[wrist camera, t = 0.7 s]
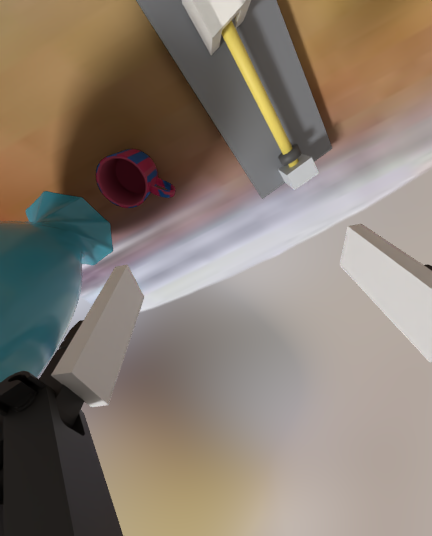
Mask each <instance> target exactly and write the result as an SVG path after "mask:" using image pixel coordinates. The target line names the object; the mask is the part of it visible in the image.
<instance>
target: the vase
mask: <svg viewBox="0 0 432 536" xmlns="http://www.w3.org/2000/svg"><path fill="white" fill-rule="evenodd" d="M26 215H27V217H28V220H29V222H22V221H0V382H2V381H3V380H5V379H6V378H7V377H9V376H11V375H13V374H15V373H17V372H21V371H27V372H30V373H31V374H32V375H34V376H35V377H38V376H39V374H40V373H41V372H42V370H43V369H44V368H45V366H46V365H47V363H48V362H49V361H50V359H51V357H52V356H53V355H54V353H55V351H56V350H57V348H58V346H59V344H60V343H61V341H62V339H63V337H64V335H65V333H66V331H67V329H68V327H69V324H70V322H71V320H72V317H73V315H74V312H75V309H76V306H77V303H78V300H79V296H80V291H81V285H82V264H89V265H95V264H96V263H97V262H99V261H100V260H101V259H103V258H104V257H105V256H107V255H108V254H109V253H111V252H112V251H113V247H112V238H111V226H110V223H109V222H108V221H107V220H105V219H104V218H103V217H102V216H101V215H100V214H99V213H98V212H97V211H96V210H95V209H94V208H93V207H92V206H91V205H89V204H88V203H87V202H86V201H85V200H84V199H83V198H82V197H76V196H69V195H63V194H57V193H51V192H47V191H45V192H43V193H42V194H41V196H40V197H39V198H38V199H37V200H36V201H35V202H34V203H33V204H32V205H31V206H30V207H29V208H28V209H26Z"/></svg>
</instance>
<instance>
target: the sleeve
mask: <svg viewBox="0 0 432 536" xmlns="http://www.w3.org/2000/svg"><path fill="white" fill-rule="evenodd" d="M250 2H251V0H182V4H183V6H184V7H185V9H186V11H187V13H188V15H189V17H190V18H191V20H192V22H193V24H194V26H195V27H196V29H197V31H198V33H199V35H200V36H201V38H202V40H203V42H204V44H205V45H206V47H207V49H208V51H209V53H210V54H211V55H212V54H213V53H214V52H215V51H216V50H217V49H218V48H219V46H220V39H221V33H222V30H223V29H224V28H225V27H226V26H227V25H228V24H229V22H230V21H231V20H232V22H233V24H234V26H235V28H237V27H238V26H239V25H240V24H241V23H242V22H243V21H244V18H245V16H246V13H247V10H248V7H249V5H250Z"/></svg>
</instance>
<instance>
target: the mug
mask: <svg viewBox="0 0 432 536" xmlns="http://www.w3.org/2000/svg"><path fill="white" fill-rule="evenodd" d="M96 181H97V184H98V187H99V189H100V191H101V192H102V194H103V195H104V196H105V197H106V198H107V199H108V200H109V201H110V202H112V203H113V204H115V205H117V206H120V207H124V208H133V207H136V206H138V205H140V204H141V203H143V202H144V200H145V199H146V198H147V197H148V195H149V194H150V193H152V194H155V195H157V196H160V197H165V198H170V197H173V196H174V195H175V190H176V189H175V187H174V186H173V185H172V184H170V183H168V182H166V181H164V180H162V179H160V178H158V172H157V168H156V166H155V164H154V162H153V160H152V159H151V158H150V157H149V156H148V155H147V154H145V153H144V152H142V151H140V150H136V149H127V150H124V151H121V152H118V153H115V154H112V155H110V156H107V157H105V158H104V159H102V160H101V161H100V163H99V164H98V166H97V169H96ZM156 185H157V186H161V187H163V188H166V189H168V190H163V189H160V188H157V187H155V186H156Z"/></svg>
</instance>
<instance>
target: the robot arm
mask: <svg viewBox="0 0 432 536" xmlns="http://www.w3.org/2000/svg"><path fill="white" fill-rule="evenodd" d="M340 266H341V267H342V268H343V269H344V271H345V272H346V273H347V274H348V275H349V276H350V277H351V278H352V279H353V280H354V281H355V282H356V283H357V285H358V286H359V287H360V288H361V289H362V290H363V291H364V292H365V293H366V294H367V295H368V296H369V297H370V298H371V300H372V301H373V302H374V303H375V304H376V305H377V306H378V307H379V308H380V309H381V311H383V313H384V314H385V315H386V316H387V317H388V318H389V319H390V320H391V321H392V322H393V323H394V325H395V326H396V327H397V328H398V329H399V330H400V331H401V332H402V333H403V334H404V335H405V336H406V337H407V339H409V341H410V342H411V343H412V344H413V345H414V346H415V347H416V348H417V349H418V351H419V352H420V353H421V354H422V355H423V356H424V357H425V358H426V359H427V360H428V361H429V362H432V266H430V265H423V264H421V263H420V262H418V261H416V260H415V259H414V258H412V257H410V256H409V255H407V254H406V253H404V252H403V251H401V250H400V249H399V248H397V247H396V246H394V245H393V244H391V243H390V242H388V241H386V240H385V239H383V238H382V237H381V236H379V235H377V234H376V233H375V232H373V231H372V230H370V229H368V228H367V227H365V226H364V225H362V224H358V225H352V226H348V228H347V233H346V237H345V242H344V246H343V251H342V256H341V260H340ZM143 299H144V296H143V294H142V292H141V290H140V288H139V286H138V284H137V282H136V280H135V278H134V276H133V274H132V272H131V271H130V269H129V267H128V265H123V266H118V267H115V269H114V270H113V272H112V274H111V275H110V277H109V279H108V280H107V282H106V284H105V285H104V287H103V289H102V290H101V292H100V294H99V295H98V297H97V299H96V300H95V302H94V304H93V306H92V307H91V309H90V311H89V312H88V314H87V316H86V317H85V319H84V320H83V321H79V322H78V323H77V324H76V325H75V326H74V327H73V328H72V329H71V330H70V331H69V333H68V334H67V336H66V337H65V339H64V341H63V342H62V344H61V345H60V347H59V350H57V352H56V353H55V355H54V356H53V358H52V359H51V361H50V363H49V364H48V366H47V367H46V369H45V371H44V372H43V374H42V375H41V377H40V378H39V379H38V378H37V377H35V376H34V375H32V374H31V373H30V372H27V371H21V372H17V373H15V374H13V375H11V376H9V377H7V378H6V379H5V380H3V381H2V382H0V536H123V534H122V531H121V528H120V525H119V521H118V518H117V515H116V512H115V509H114V506H113V503H112V499H111V496H110V493H109V490H108V487H107V484H106V481H105V478H104V474H103V471H102V468H101V466H100V462H99V459H98V456H97V453H96V449H95V446H94V444H93V440H92V437H91V434H90V431H89V428H88V424H87V422H86V418H85V415H84V413H83V412H82V410H81V407H82V405H83V403H84V402H85V403H87V404H88V405H89V406H91V407H96V406H104V405H108V404H109V401H110V398H111V395H112V392H113V389H114V386H115V383H116V380H117V377H118V374H119V371H120V368H121V365H122V362H123V359H124V356H125V353H126V350H127V347H128V344H129V341H130V338H131V335H132V332H133V329H134V326H135V323H136V320H137V317H138V314H139V311H140V308H141V305H142V302H143Z"/></svg>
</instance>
